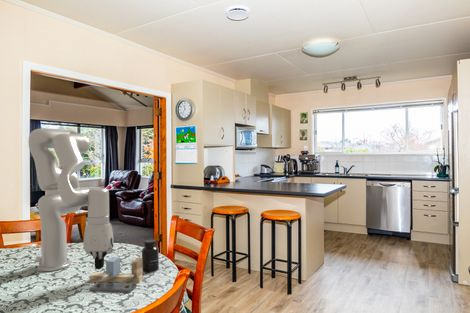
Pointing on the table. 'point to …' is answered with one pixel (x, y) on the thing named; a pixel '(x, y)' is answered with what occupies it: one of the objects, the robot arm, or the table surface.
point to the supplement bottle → (150, 256)
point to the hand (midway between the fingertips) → (99, 268)
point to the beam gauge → (131, 278)
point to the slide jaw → (112, 267)
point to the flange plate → (113, 287)
